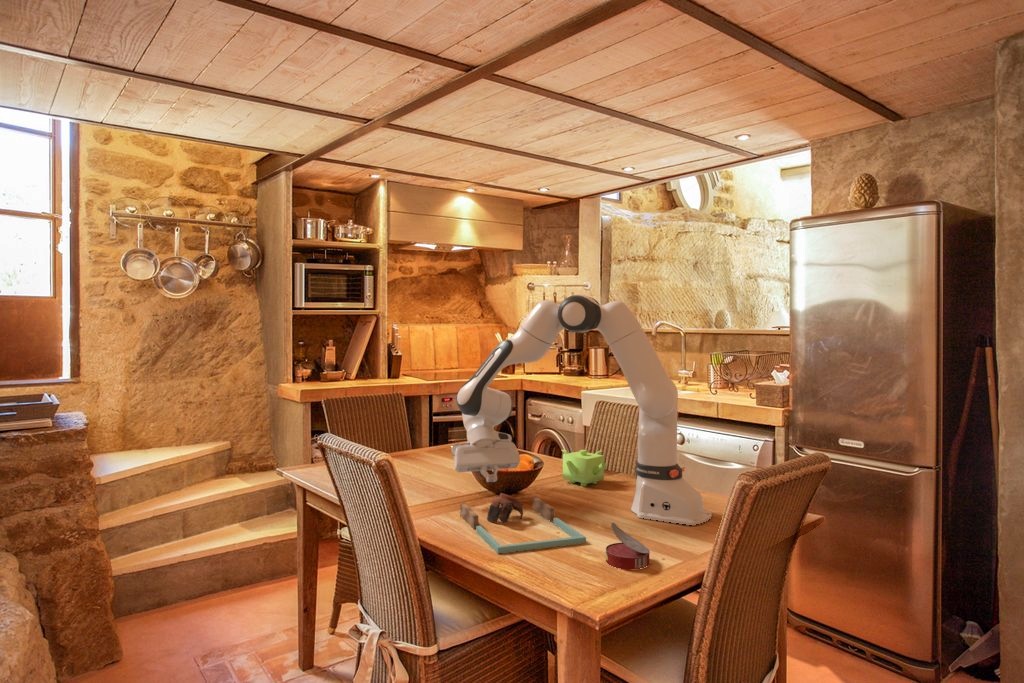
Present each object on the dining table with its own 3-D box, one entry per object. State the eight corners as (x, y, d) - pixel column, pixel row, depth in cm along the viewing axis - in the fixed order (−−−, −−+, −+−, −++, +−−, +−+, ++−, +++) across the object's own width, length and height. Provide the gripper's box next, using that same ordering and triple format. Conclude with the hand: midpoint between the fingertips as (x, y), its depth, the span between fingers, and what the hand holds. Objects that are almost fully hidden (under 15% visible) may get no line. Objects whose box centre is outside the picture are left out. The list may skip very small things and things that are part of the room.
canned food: (619, 574, 155) (629, 532, 159) (654, 582, 147) (664, 538, 151) (589, 561, 149) (600, 517, 152) (624, 569, 141) (635, 523, 145)
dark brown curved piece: (482, 517, 185) (495, 490, 187) (512, 532, 185) (525, 505, 187) (486, 519, 173) (499, 490, 175) (518, 535, 173) (531, 506, 175)
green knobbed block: (560, 477, 231) (561, 445, 231) (601, 478, 231) (601, 446, 231) (563, 488, 216) (564, 454, 216) (606, 488, 216) (607, 454, 216)
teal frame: (476, 531, 170) (476, 526, 170) (557, 523, 178) (557, 517, 178) (497, 553, 154) (497, 547, 154) (585, 543, 162) (586, 537, 162)
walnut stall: (460, 515, 184) (460, 503, 184) (536, 508, 192) (536, 496, 192) (473, 529, 172) (474, 516, 172) (554, 521, 180) (554, 508, 180)
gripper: (451, 438, 197) (460, 477, 189) (515, 434, 204) (526, 472, 196) (448, 450, 202) (456, 489, 193) (510, 446, 209) (521, 484, 200)
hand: (492, 480), depth 194 cm, fingers closed
